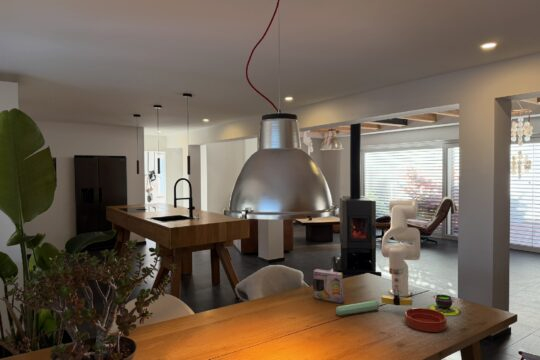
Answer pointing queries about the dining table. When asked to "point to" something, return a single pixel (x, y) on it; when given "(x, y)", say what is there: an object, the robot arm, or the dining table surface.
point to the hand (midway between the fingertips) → (396, 303)
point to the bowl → (425, 319)
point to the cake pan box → (328, 285)
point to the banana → (391, 300)
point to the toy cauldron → (444, 305)
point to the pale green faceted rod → (357, 308)
